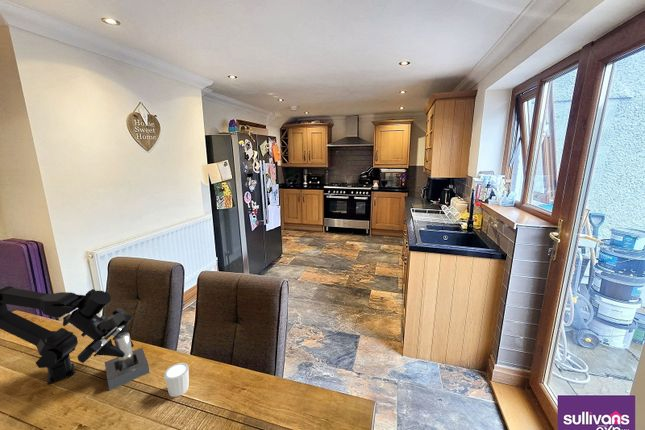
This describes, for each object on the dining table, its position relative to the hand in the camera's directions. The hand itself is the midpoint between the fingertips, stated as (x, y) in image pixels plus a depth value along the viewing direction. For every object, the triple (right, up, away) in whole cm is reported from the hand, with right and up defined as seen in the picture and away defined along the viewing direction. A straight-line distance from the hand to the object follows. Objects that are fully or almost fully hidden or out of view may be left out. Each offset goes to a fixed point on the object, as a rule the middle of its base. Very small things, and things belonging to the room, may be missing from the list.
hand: (128, 351), depth 92 cm
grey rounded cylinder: (-1, -7, +1) cm, 7 cm away
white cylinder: (+20, -10, -6) cm, 23 cm away
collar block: (-1, -8, +2) cm, 8 cm away
